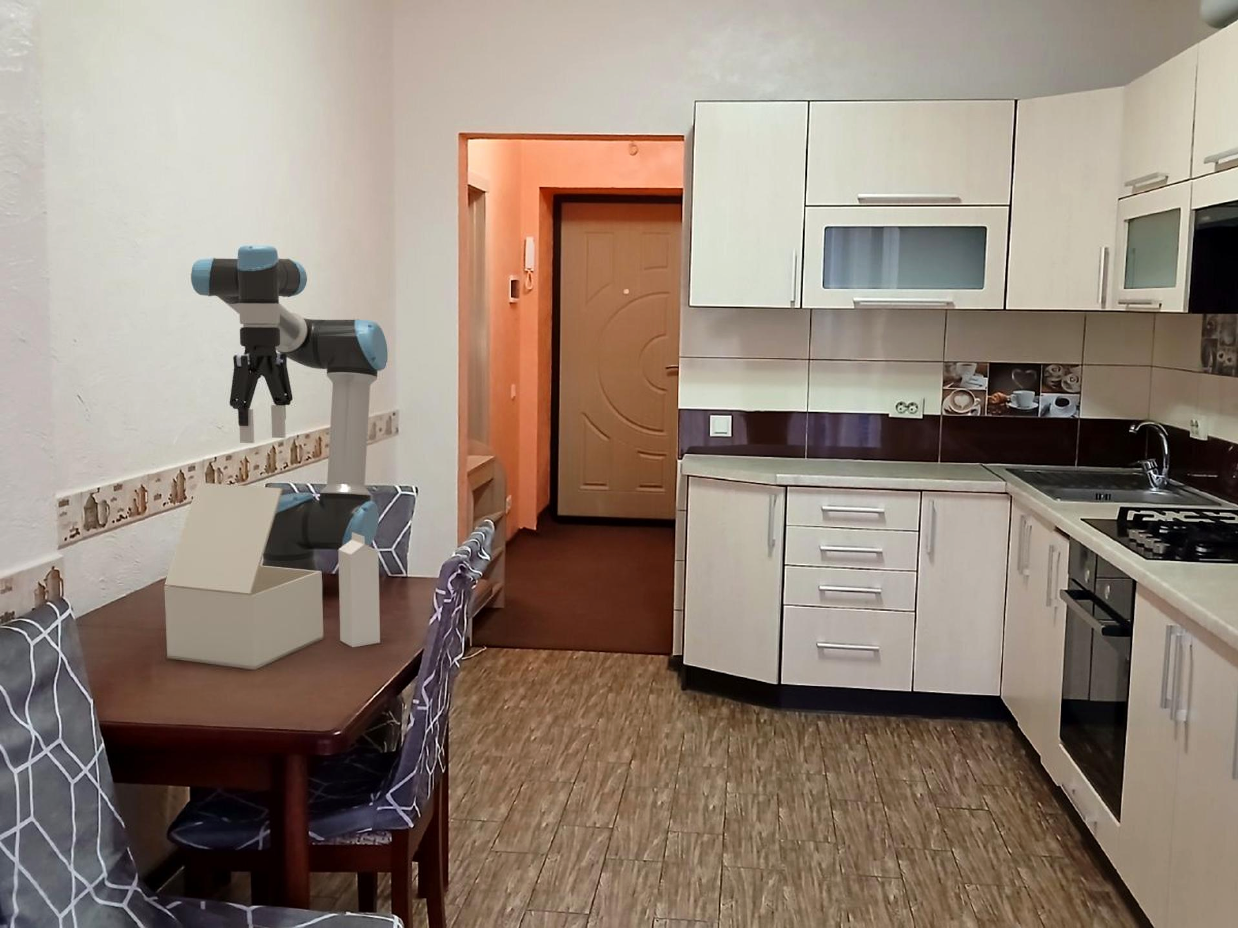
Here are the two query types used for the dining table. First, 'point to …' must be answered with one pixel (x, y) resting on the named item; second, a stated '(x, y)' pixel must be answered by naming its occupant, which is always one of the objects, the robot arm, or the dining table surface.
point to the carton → (246, 619)
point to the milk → (359, 593)
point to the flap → (224, 537)
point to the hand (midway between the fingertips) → (263, 440)
